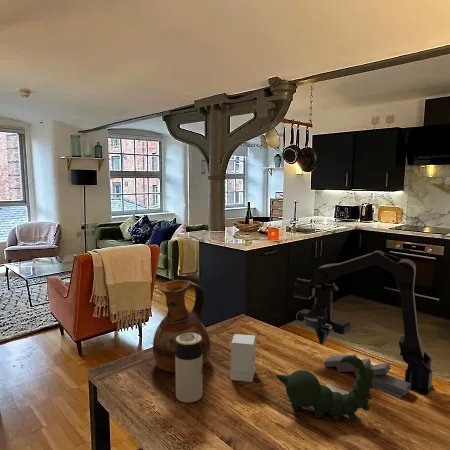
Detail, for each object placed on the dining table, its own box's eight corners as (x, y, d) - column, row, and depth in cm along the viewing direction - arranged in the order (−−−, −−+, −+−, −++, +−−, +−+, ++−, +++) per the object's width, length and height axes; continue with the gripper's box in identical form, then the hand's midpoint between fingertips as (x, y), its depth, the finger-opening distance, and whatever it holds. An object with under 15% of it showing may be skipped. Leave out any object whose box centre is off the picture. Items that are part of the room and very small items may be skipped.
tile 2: (343, 366, 125) (371, 364, 119) (337, 372, 121) (366, 370, 115) (341, 361, 125) (369, 358, 119) (336, 366, 121) (365, 364, 115)
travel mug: (172, 402, 104) (171, 342, 102) (180, 386, 112) (179, 331, 110) (199, 405, 102) (198, 344, 100) (205, 389, 110) (205, 333, 108)
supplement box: (253, 382, 114) (253, 344, 113) (230, 380, 116) (230, 342, 114) (255, 371, 121) (256, 335, 120) (234, 368, 123) (234, 333, 121)
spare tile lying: (359, 402, 105) (359, 396, 105) (352, 410, 101) (352, 404, 101) (327, 389, 111) (327, 383, 111) (319, 396, 108) (320, 390, 108)
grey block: (378, 376, 116) (410, 389, 109) (371, 382, 113) (404, 395, 106) (378, 371, 116) (411, 383, 109) (371, 376, 113) (404, 390, 105)
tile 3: (361, 372, 120) (390, 368, 114) (356, 377, 116) (386, 373, 111) (359, 367, 121) (388, 362, 115) (354, 372, 117) (384, 368, 111)
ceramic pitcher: (142, 362, 127) (140, 279, 123) (188, 345, 140) (188, 270, 137) (174, 385, 112) (173, 292, 109) (222, 364, 126) (222, 280, 122)
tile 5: (374, 381, 117) (407, 394, 109) (367, 387, 113) (400, 401, 106) (375, 376, 116) (407, 389, 109) (367, 381, 113) (400, 395, 106)
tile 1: (331, 361, 128) (357, 359, 121) (325, 367, 124) (352, 365, 118) (329, 356, 128) (355, 354, 122) (323, 362, 124) (350, 360, 118)
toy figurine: (364, 416, 100) (275, 393, 107) (374, 353, 98) (282, 333, 105) (366, 439, 91) (269, 412, 98) (377, 370, 89) (277, 347, 96)
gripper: (287, 300, 126) (286, 342, 128) (335, 314, 113) (333, 361, 115) (305, 293, 134) (304, 333, 136) (352, 306, 121) (351, 350, 122)
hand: (321, 344), depth 127 cm, fingers closed
